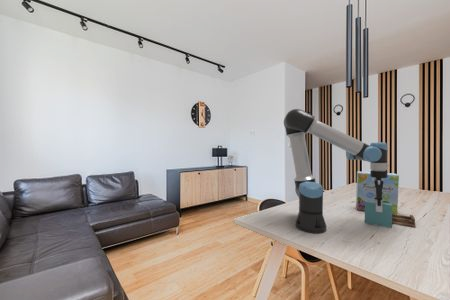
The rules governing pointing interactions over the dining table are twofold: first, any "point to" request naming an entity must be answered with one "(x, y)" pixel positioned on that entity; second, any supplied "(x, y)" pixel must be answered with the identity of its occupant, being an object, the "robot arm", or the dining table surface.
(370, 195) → the snack box
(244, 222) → the dining table surface
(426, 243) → the dining table surface
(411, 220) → the brown wooden tray
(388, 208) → the door panel
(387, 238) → the dining table surface
